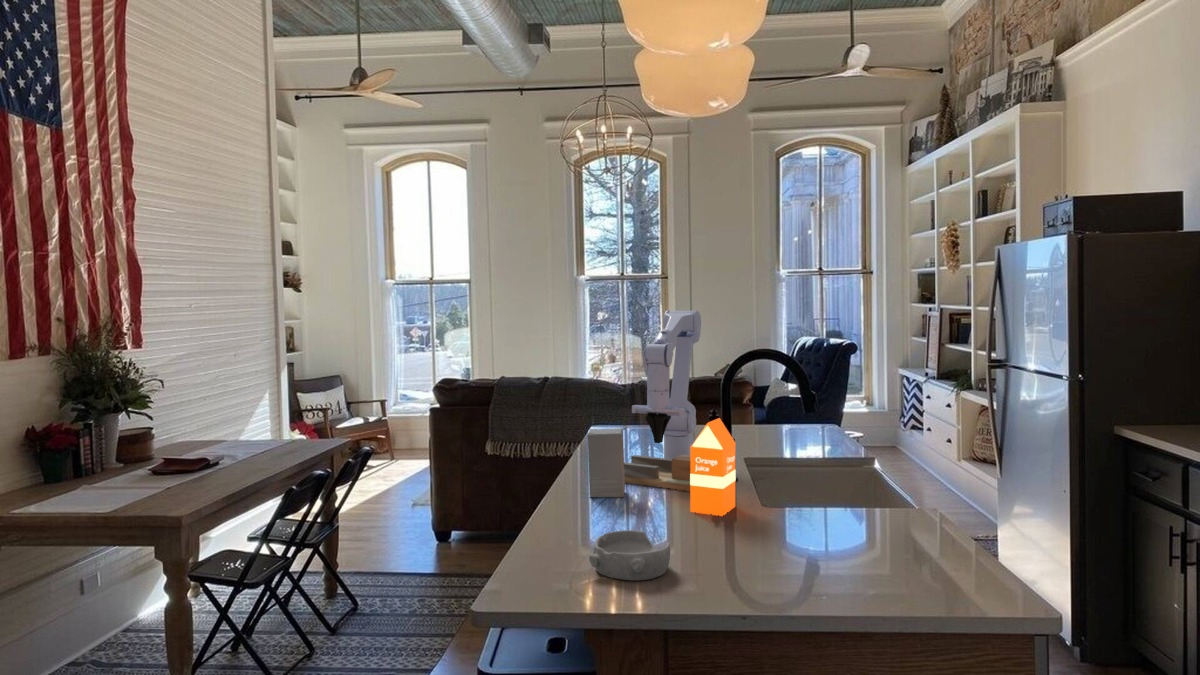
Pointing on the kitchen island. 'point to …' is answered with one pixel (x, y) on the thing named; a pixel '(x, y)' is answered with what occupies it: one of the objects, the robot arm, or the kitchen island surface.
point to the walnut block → (681, 467)
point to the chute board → (657, 482)
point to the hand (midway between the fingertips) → (658, 442)
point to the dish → (629, 556)
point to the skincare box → (606, 462)
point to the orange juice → (713, 470)
